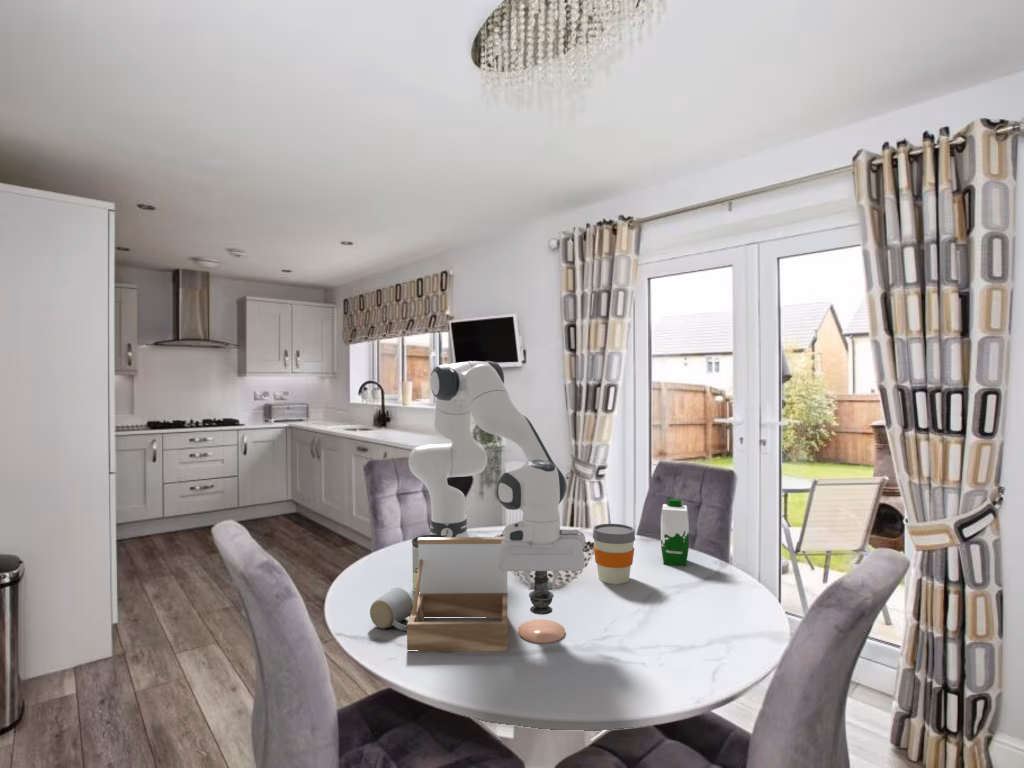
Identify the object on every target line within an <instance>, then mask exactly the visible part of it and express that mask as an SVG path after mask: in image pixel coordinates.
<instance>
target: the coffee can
mask: <svg viewBox="0 0 1024 768" xmlns="http://www.w3.org/2000/svg"><path fill="white" fill-rule="evenodd" d="M419 537H446V536H442V535H429V534H425V535H424V534H423V535H418V536H416V537H414V538H413V539H411V544H412V546H411V548H412V549H411V550H412V551H411V552H412V590H413V589H414V590H415V586H416V579H417V572H418V565H419V557H418V538H419ZM419 592H420V589H419Z"/></svg>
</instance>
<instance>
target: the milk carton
mask: <svg viewBox="0 0 1024 768" xmlns="http://www.w3.org/2000/svg"><path fill="white" fill-rule="evenodd" d="M667 501H668V502H667V503H663V504H662V508H661V516H660V547H661V548H660V549H661V555H662V563H663V565H668V564H672V565H671V566H679V565H683V566H682V567H686V566H687V562H688V555H689V548H690V537H689V536H690V528H689V527H690V523H689V520H690V516H689V511H688V506H687V505H684V504H682V500H681V499H680V498H676V497H675V498H668V499H667Z"/></svg>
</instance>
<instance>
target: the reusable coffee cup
mask: <svg viewBox="0 0 1024 768" xmlns="http://www.w3.org/2000/svg"><path fill="white" fill-rule="evenodd" d="M635 534H636V533H635V529H634V528H633V527H632V526H629V525H626V524H620V523H600V524H596V525H595V526H593V531H592V539H593V542H594V543H593V544H594V545H593V553H594V554H593V555H594V561H595V563H596V567H597V574H598V580H599V581H600V582H603V583H605V584H609V585H623V584H627V583H628V582H629V581H630V574H631V567H632V565H633V562H634V555H635V554H634V553H635V548H634V542H635V540H636V535H635ZM622 583H623V584H622Z"/></svg>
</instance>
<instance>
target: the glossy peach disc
mask: <svg viewBox="0 0 1024 768" xmlns="http://www.w3.org/2000/svg"><path fill="white" fill-rule="evenodd" d="M517 634H518V636H519V635H520V636H521V637H522V638H521V637H520V638H521V639H522V640H525V641H526V642H530V643H535V644H549V643H550V642H551V643H555V642H557V640H558V641H560V640H562V639H563V638H564V637H565V635H566V629H565V627H564V625H562V624H561V623H559V622H557V621H553V620H550V619H533V620H532V619H531V620H528V621H527V620H526V621H525V622H522V623H521V624H520V625H519V626H518V629H517ZM563 636H564V637H563ZM561 638H562V639H561ZM554 641H555V642H554Z"/></svg>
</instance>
